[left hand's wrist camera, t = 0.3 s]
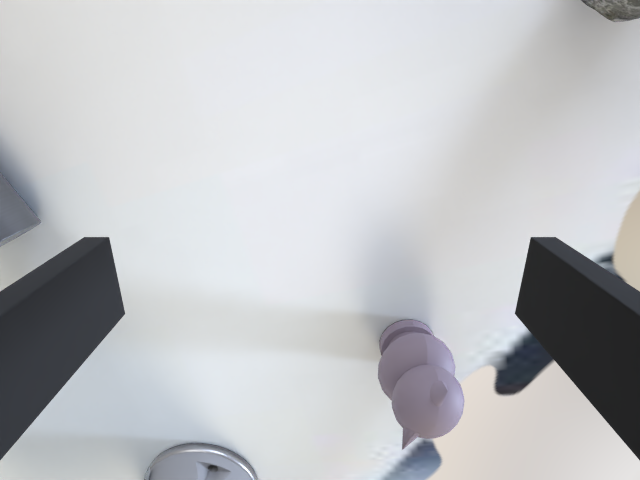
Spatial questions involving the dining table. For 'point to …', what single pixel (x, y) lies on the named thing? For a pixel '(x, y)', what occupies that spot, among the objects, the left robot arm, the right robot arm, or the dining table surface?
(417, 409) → the cat figurine
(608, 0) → the concrete block
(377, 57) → the dining table surface
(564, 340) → the left robot arm
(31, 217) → the rod
